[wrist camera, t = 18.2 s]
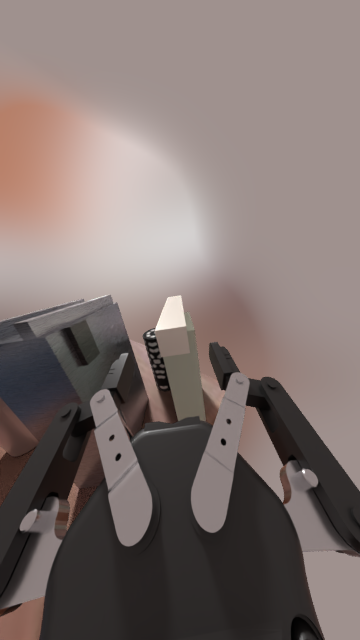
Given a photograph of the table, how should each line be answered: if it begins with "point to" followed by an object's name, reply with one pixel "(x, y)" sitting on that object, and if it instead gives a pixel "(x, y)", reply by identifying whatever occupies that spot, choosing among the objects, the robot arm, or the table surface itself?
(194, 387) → the pale green tall brick
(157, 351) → the black white cylinder
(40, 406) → the tower
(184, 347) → the cream tall brick
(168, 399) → the table surface
